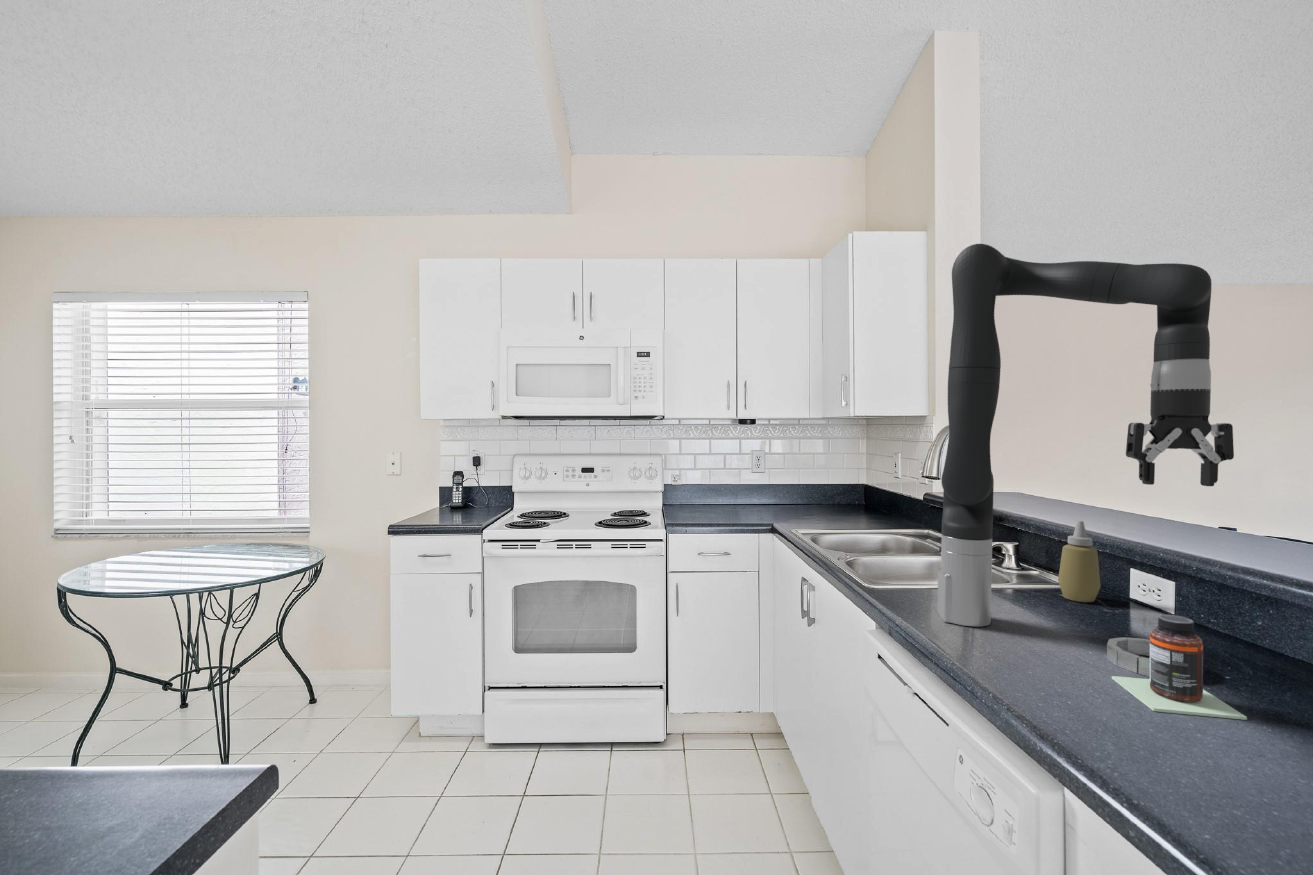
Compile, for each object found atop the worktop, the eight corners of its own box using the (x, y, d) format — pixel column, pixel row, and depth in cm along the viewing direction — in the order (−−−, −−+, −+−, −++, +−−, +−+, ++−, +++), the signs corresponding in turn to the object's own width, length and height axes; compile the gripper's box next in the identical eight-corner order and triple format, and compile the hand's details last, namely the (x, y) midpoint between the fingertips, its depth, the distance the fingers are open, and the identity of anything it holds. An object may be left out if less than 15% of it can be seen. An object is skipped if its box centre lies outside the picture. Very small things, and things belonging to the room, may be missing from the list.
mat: (1153, 711, 83) (1153, 708, 83) (1111, 678, 94) (1111, 675, 94) (1246, 719, 81) (1246, 717, 81) (1193, 685, 92) (1193, 682, 92)
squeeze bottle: (1092, 596, 140) (1094, 519, 139) (1106, 606, 132) (1108, 525, 132) (1052, 592, 142) (1054, 517, 142) (1063, 602, 135) (1065, 523, 134)
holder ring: (1131, 676, 95) (1132, 661, 95) (1093, 648, 107) (1094, 635, 107) (1220, 684, 92) (1220, 668, 92) (1171, 654, 104) (1172, 640, 104)
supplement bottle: (1182, 686, 90) (1183, 612, 90) (1214, 705, 84) (1215, 625, 84) (1139, 684, 91) (1140, 611, 91) (1167, 702, 85) (1169, 624, 85)
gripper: (1144, 387, 97) (1141, 486, 98) (1247, 386, 94) (1244, 488, 95) (1119, 389, 105) (1116, 481, 105) (1214, 389, 102) (1211, 484, 102)
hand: (1177, 485), depth 100 cm, fingers open, 8 cm apart
